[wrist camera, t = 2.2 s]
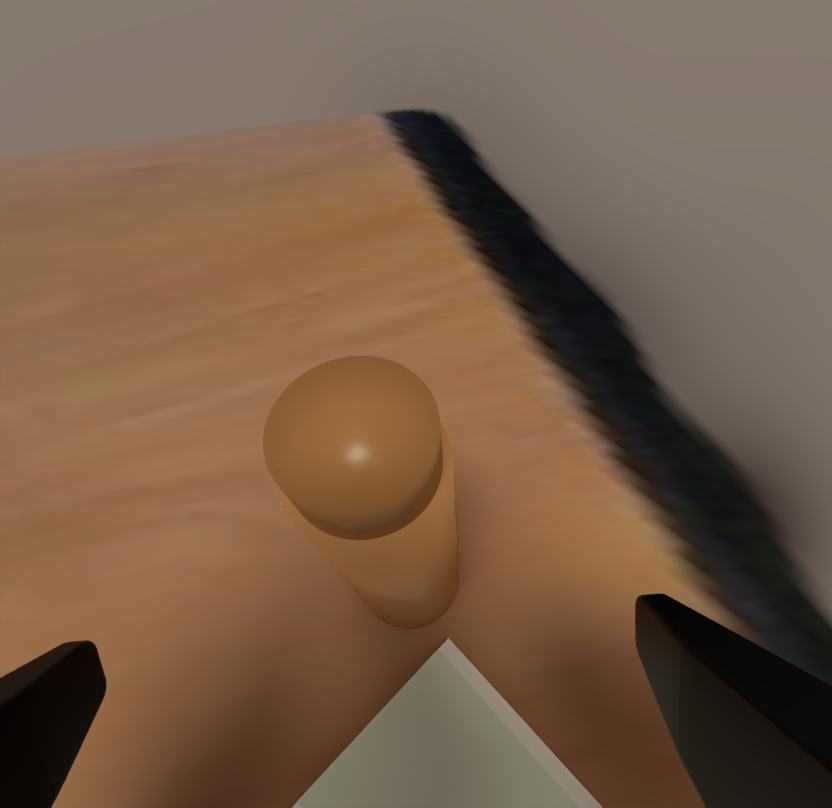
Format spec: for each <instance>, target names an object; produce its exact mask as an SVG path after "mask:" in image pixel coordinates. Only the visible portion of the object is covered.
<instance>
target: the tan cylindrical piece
mask: <svg viewBox="0 0 832 808" xmlns="http://www.w3.org/2000/svg"><path fill="white" fill-rule="evenodd" d="M263 450H264V456H265V461H266V464H267V467H268V470H269V472H270V474H271V475H272V477H273V479H274V480H275V482H276V483H277V485H278V486H279V490H280V495H281V498H282V501H283V504H284V506H285V508H286V510H287V512H288V514H289V516H290V517H291V518H292V520H293V521H294V523H295V524H296V525H297V526H298V527H299V528H300V530H301V531H302V532H303V533H304V534H305V535H306V536H307V537H308V539H309V540H310V541H311V542H312V543H313V544H314V545H315V546H316V548H317V549H318V550H319V551H320V552H321V553H322V554H323V555H324V557H325V558H326V559H327V560H328V561H329V562H330V563H331V564H332V566H333V567H334V568H335V569H336V570H337V571H338V572H339V573H340V575H341V576H342V577H343V578H344V579H345V580H346V581H347V582H348V584H349V585H350V586H351V587H352V588H353V589H354V590H355V591H356V593H357V594H358V595H359V596H360V597H361V598H362V599H363V600H364V602H365V603H366V604H367V605H368V606H369V607H370V608H371V610H372V611H373V612H374V613H375V614H376V615H377V616H378V617H379V618H381V619H382V620H383V621H385V622H387V623H388V624H391V625H393V626H396V627H400V628H408V629H409V628H418V627H423V626H426V625H428V624H430V623H432V622H434V621H436V620H437V619H438V618H440V617H441V616H442V615H443V614H444V613H445V612H446V611H447V610H448V608H449V607H450V605H451V604H452V602H453V600H454V598H455V595H456V592H457V588H458V582H459V571H458V550H457V530H456V510H455V489H454V469H453V454H452V448H451V444H450V440H449V438H448V435H447V433H446V431H445V429H444V427H443V425H442V424H441V422H440V418H439V412H438V408H437V405H436V402H435V400H434V397H433V395H432V394H431V392H430V390H429V388H428V387H427V386H426V385H425V383H424V382H423V381H422V380H421V379H420V378H419V377H418V376H417V375H416V374H414V373H413V372H412V371H410V370H409V369H407V368H406V367H404V366H402V365H400V364H398V363H395V362H393V361H390V360H387V359H383V358H379V357H371V356H352V357H344V358H339V359H335V360H332V361H328V362H326V363H323V364H321V365H318V366H316V367H314V368H312V369H311V370H309V371H307V372H306V373H304V374H303V375H301V376H300V377H298V378H297V379H296V380H295V381H294V382H292V383H291V384H290V385H289V386H288V387H287V388H286V389H285V391H284V392H283V393H282V394H281V395H280V397H279V398H278V399H277V401H276V403H275V404H274V406H273V408H272V410H271V412H270V414H269V417H268V419H267V422H266V426H265V430H264V438H263Z"/></svg>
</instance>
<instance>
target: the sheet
mask: <svg viewBox="0 0 832 808" xmlns="http://www.w3.org/2000/svg"><path fill="white" fill-rule="evenodd" d="M292 808H603V807H602V806H601V805H600V804H599V803H598V802H597V801H596V800H595V798H594V797H593V796H592V795H591V794H590V793H589V792H588V791H587V790H586V789H585V787H584V786H583V785H582V784H581V783H580V782H579V781H578V780H577V779H576V778H575V776H574V775H573V774H572V773H571V772H570V771H569V770H568V769H567V768H566V767H565V765H564V764H563V763H562V762H561V761H560V760H559V759H558V758H557V757H556V756H555V754H554V753H553V752H552V751H551V750H550V749H549V748H548V747H547V746H546V745H545V743H544V742H543V741H542V740H541V739H540V738H539V737H538V736H537V735H536V734H535V732H534V731H533V730H532V729H531V728H530V727H529V726H528V725H527V724H526V723H525V722H524V720H523V719H522V718H521V717H520V716H519V715H518V714H517V713H516V712H515V711H514V709H513V708H512V707H511V706H510V705H509V704H508V703H507V702H506V701H505V700H504V698H503V697H502V696H501V695H500V694H499V693H498V692H497V691H496V690H495V689H494V687H493V686H492V685H491V684H490V683H489V682H488V681H487V680H486V679H485V678H484V676H483V675H482V674H481V673H480V672H479V671H478V670H477V669H476V668H475V667H474V665H473V664H472V663H471V662H470V661H469V660H468V659H467V658H466V657H465V656H464V654H463V653H462V652H461V651H460V650H459V649H458V648H457V647H456V646H455V645H454V644H453V642H452V641H451V640H450V639H449V638H448V639H447V640H446V641H445V642H444V643H443V644H442V646H441V647H440V648H439V649H437V650H436V652H435V653H434V654H433V655H432V656H431V657H430V658H429V659H428V660H427V661H426V662H425V663H424V665H423V666H422V667H421V668H420V669H419V670H418V671H417V672H416V673H415V674H414V675H413V676H412V677H411V679H410V680H409V681H408V682H407V683H406V684H405V685H404V686H403V687H402V688H401V689H400V690H399V692H398V693H397V694H396V695H395V696H394V697H393V698H392V699H391V700H390V701H389V702H388V703H387V705H386V706H385V707H384V708H383V709H382V710H381V711H380V712H379V713H378V714H377V715H376V716H375V717H374V719H373V720H372V721H371V722H370V723H369V724H368V725H367V726H366V727H365V728H364V729H363V730H362V732H361V733H360V734H359V735H358V736H357V737H356V738H355V739H354V740H353V741H352V742H351V743H350V745H349V746H348V747H347V748H346V749H345V750H344V751H343V752H342V753H341V754H340V755H339V756H338V758H337V759H336V760H335V761H334V762H333V763H332V764H331V765H330V766H329V767H328V768H327V769H326V770H325V772H324V773H323V774H322V775H321V776H320V777H319V778H318V779H317V780H316V781H315V782H314V783H313V785H312V786H311V787H310V788H309V789H308V790H307V791H306V792H305V793H304V794H303V795H302V796H301V798H300V799H299V800H298V801H297V802H296V803H295V805H294V806H293V807H292Z"/></svg>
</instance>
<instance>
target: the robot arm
mask: <svg viewBox="0 0 832 808" xmlns="http://www.w3.org/2000/svg"><path fill="white" fill-rule="evenodd" d="M635 639H636V647H637V651H638V654H639V657H640V660H641V662H642V665H643V667H644V670H645V672H646V675H647V677H648V680H649V682H650V685H651V687H652V690H653V692H654V695H655V697H656V700H657V702H658V705H659V707H660V710H661V712H662V715H663V717H664V720H665V722H666V725H667V727H668V730H669V732H670V735H671V737H672V740H673V742H674V744H675V747H676V749H677V751H678V754H679V756H680V758H681V760H682V762H683V764H684V766H685V768H686V770H687V772H688V774H689V776H690V778H691V780H692V782H693V784H694V786H695V787H696V789H697V791H698V793H699V795H700V797H701V799H702V801H703V803H704V805H705V807H706V808H832V685H830V684H828V683H826V682H824V681H823V680H821V679H819V678H817V677H815V676H813V675H812V674H810V673H808V672H806V671H804V670H802V669H801V668H799V667H797V666H795V665H793V664H791V663H790V662H788V661H786V660H784V659H782V658H780V657H779V656H777V655H775V654H773V653H771V652H770V651H768V650H766V649H764V648H762V647H760V646H759V645H757V644H755V643H753V642H751V641H749V640H748V639H746V638H744V637H742V636H740V635H738V634H737V633H735V632H733V631H731V630H729V629H728V628H726V627H724V626H722V625H720V624H718V623H717V622H715V621H713V620H711V619H709V618H707V617H706V616H704V615H702V614H700V613H698V612H696V611H695V610H693V609H691V608H689V607H687V606H686V605H684V604H682V603H680V602H678V601H676V600H675V599H673V598H671V597H669V596H667V595H665V594H649V595H640V596H639V597H638V598H637V600H636V605H635ZM105 692H106V678H105V674H104V671H103V668H102V664H101V661H100V658H99V654H98V651H97V648H96V645H95V644H94V643H93V642H91V641H88V640H86V641H73V642H66V643H63V644H61V645H59V646H57V647H56V648H54V649H52V650H50V651H48V652H47V653H45V654H43V655H41V656H39V657H38V658H36V659H34V660H32V661H30V662H28V663H27V664H25V665H23V666H21V667H19V668H18V669H16V670H14V671H12V672H10V673H9V674H7V675H5V676H3V677H1V678H0V808H51V807H52V805H53V803H54V801H55V800H56V798H57V796H58V794H59V792H60V790H61V788H62V786H63V784H64V782H65V780H66V778H67V775H68V773H69V771H70V769H71V767H72V765H73V763H74V760H75V758H76V756H77V754H78V752H79V750H80V748H81V745H82V743H83V741H84V739H85V737H86V735H87V733H88V731H89V728H90V726H91V724H92V722H93V720H94V718H95V716H96V713H97V711H98V709H99V707H100V705H101V703H102V701H103V698H104V696H105Z"/></svg>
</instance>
